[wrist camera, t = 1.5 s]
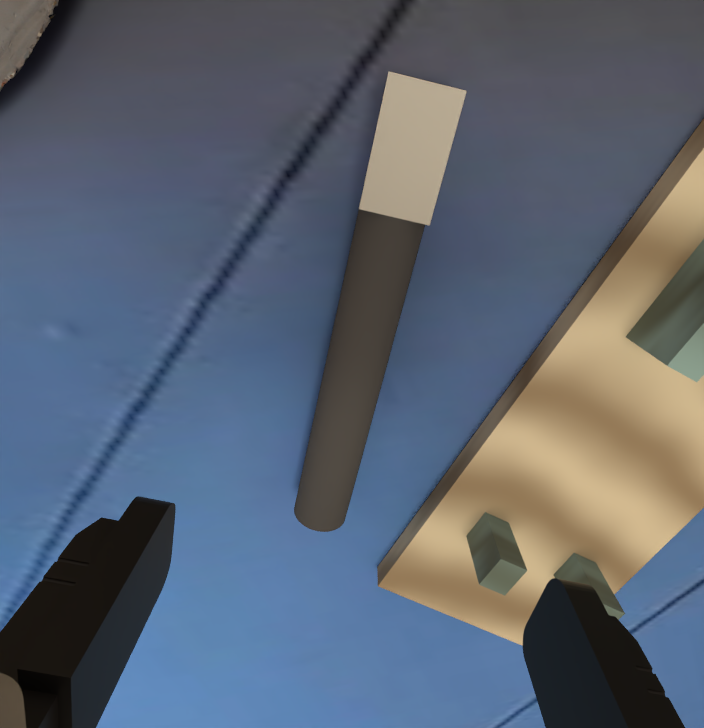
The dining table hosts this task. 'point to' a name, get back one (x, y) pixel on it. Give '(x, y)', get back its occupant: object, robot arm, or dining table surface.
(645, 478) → the board
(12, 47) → the food plate
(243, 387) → the dining table surface
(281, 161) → the dining table surface
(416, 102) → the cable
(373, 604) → the dining table surface
